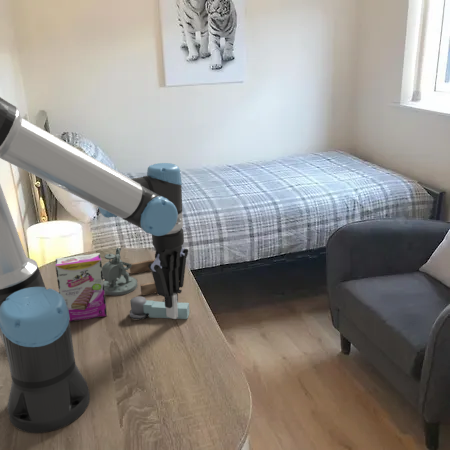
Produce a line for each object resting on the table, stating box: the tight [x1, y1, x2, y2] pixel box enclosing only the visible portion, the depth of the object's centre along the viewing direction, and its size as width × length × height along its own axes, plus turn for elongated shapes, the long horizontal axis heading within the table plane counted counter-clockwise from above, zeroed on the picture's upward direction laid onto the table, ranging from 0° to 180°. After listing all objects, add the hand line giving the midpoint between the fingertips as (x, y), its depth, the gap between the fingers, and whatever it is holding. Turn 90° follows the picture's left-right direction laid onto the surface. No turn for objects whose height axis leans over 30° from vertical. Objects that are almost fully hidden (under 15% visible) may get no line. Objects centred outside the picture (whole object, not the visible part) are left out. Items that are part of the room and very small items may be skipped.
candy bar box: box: [55, 252, 108, 323], centre depth 128 cm, size 11×5×16 cm, turn 108°
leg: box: [130, 296, 190, 320], centre depth 129 cm, size 4×15×4 cm, turn 83°
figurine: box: [102, 247, 138, 297], centre depth 144 cm, size 11×11×12 cm
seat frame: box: [129, 258, 158, 296], centre depth 149 cm, size 11×16×3 cm
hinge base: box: [129, 309, 149, 321], centre depth 132 cm, size 12×7×2 cm, turn 112°
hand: (172, 316), depth 127 cm, fingers closed
